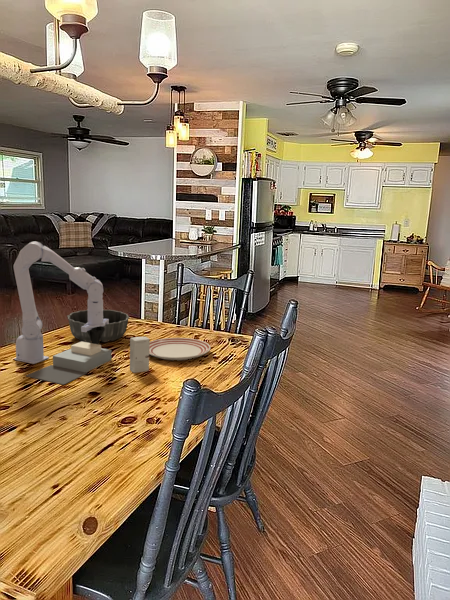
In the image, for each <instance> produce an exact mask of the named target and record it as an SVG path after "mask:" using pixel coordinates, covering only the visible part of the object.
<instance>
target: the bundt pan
mask: <svg viewBox="0 0 450 600" xmlns="http://www.w3.org/2000/svg"><path fill="white" fill-rule="evenodd" d="M66 317H67V320H68V323H69V325H68V326H69V331H70V332H71V334H72V336H73V337H74V338H75V339H77V340H79V342H81V341H82V342H87V343H92V342H91V339H90V336H89V334H88V333H87V332H81V327H82V326H84V325H85V324H86V323H87V322H88V309H85V310H78V311H74V312H71V313H70V314H68V315H66ZM103 319H109V324H105V326H101V327H104V328H105V330H104V332H103V333H102V336H101V339H100V342H101V343H107V342H115V341H116V340H118V339H121V338H122V337H123V336H124V335H125V334H126V332H127V328H128V323H129V319H130V316H129V315H128V314H127V313H125V312H122V311H118V310H114V309H103Z"/></svg>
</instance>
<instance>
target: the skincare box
mask: <svg viewBox="0 0 450 600" xmlns="http://www.w3.org/2000/svg"><path fill="white" fill-rule="evenodd" d="M150 342H151V341H150V338H149V337H148V336H136V337H130V340H129V370H130V371H131V372H132V373H133V374H134V373H135V374H136V373H142V372H149V370H150V354H149V345H150Z"/></svg>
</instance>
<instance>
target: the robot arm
mask: <svg viewBox="0 0 450 600" xmlns="http://www.w3.org/2000/svg"><path fill="white" fill-rule="evenodd" d="M40 259H41V262H46V263H47V262H48V263H51V264H53V266H56V267H57V268H58V269H60V270H62V271H63V272H64V273H66V274H67V275H68V279H69V280H70V281H71V282H73V283H74V284H75V285H77V286H78V287H80V288H81V289H82V290H86V292H87V295H88V297H87V310H88V322H87V323H86V324H85V325H84V326H82V327H81V332H87V333H88V334H89V336H90V339H91V342H90V343H93V344H98V345H100V342H101V341H100V339H101V336H102V333H103V332H104V330H105V328H104V327H101V326H105V324H109V319H103V310H104V299H103V298H104V295H103V293H104V290H105V289H104V286H103V283H102V282H101V280H100V279H97V277H95V276H92V275H91V274H89V273H88V272H87V271H86V269H85V268H84V267H80V266H78V267H77V266H76V267H74V266H73V265H71V264H70V263H69V262H68V261H67V260H65V258H63V257H61V256H60V255H59V254H57V253H56V251H54V250H52V249H51V248H49V247H48V246H46V245H43V243H41V242H40V241H36V240H35V241H30V242H29V243H27V244H26V245H24V247H23V248H21V249H20V251H19V253H18V255H17V257H16V259H15V261H14V264H13V272H14V277H15V282H16V286H17V292H18V296H19V297H18V299H19V302H20V303H19V304H20V307H21V312H22V317H21V318H22V320H21V321H22V327H21V333H22V334H21V335H19V336H18V337H17V338H16V341H15V358H14V361H18V362H23V363H28V364H32V365H35V364H37V363H40V362H43V361H44V360H45V361H46V360H48V359H50V358H49V356H47V355H45V354H44V334H43V333H42V332H41V330H42V328H43V321H42V320H41V318H40V317H39V316H40V315H39V313H38V310H37V307H36V302H35V301H36V300H35V296H34V291H33V285H32V280H31V276H30V270H29V269H30V267H31V266H32V265H33V264H34V263H36V262H37V261H39V260H40Z"/></svg>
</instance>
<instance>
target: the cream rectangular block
mask: <svg viewBox="0 0 450 600" xmlns="http://www.w3.org/2000/svg"><path fill="white" fill-rule="evenodd" d="M70 347H71V348H70V349H71V352H76V353H81V354H86V355H94V354H96V353H98V352H100V351H101V348H102V344H99V345H98V344H93V343H92V342H86V341H79V342H77V343H74V344H72V345H71V346H70Z"/></svg>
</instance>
